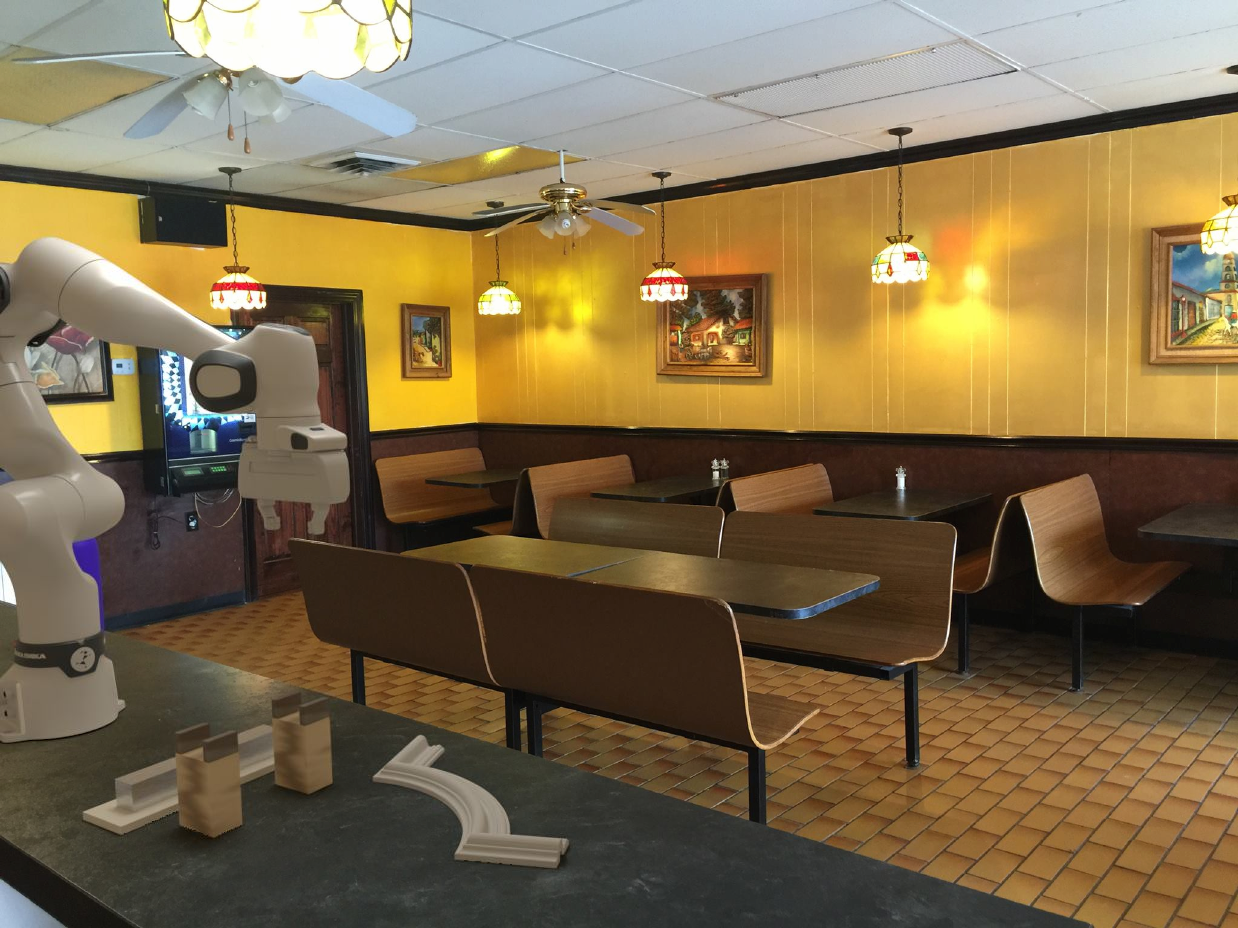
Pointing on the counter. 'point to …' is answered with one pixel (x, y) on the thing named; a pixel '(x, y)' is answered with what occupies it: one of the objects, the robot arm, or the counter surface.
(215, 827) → the post near
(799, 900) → the counter surface
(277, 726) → the post far
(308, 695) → the counter surface
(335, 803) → the counter surface
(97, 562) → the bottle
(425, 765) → the molding
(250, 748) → the rail
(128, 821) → the plank
